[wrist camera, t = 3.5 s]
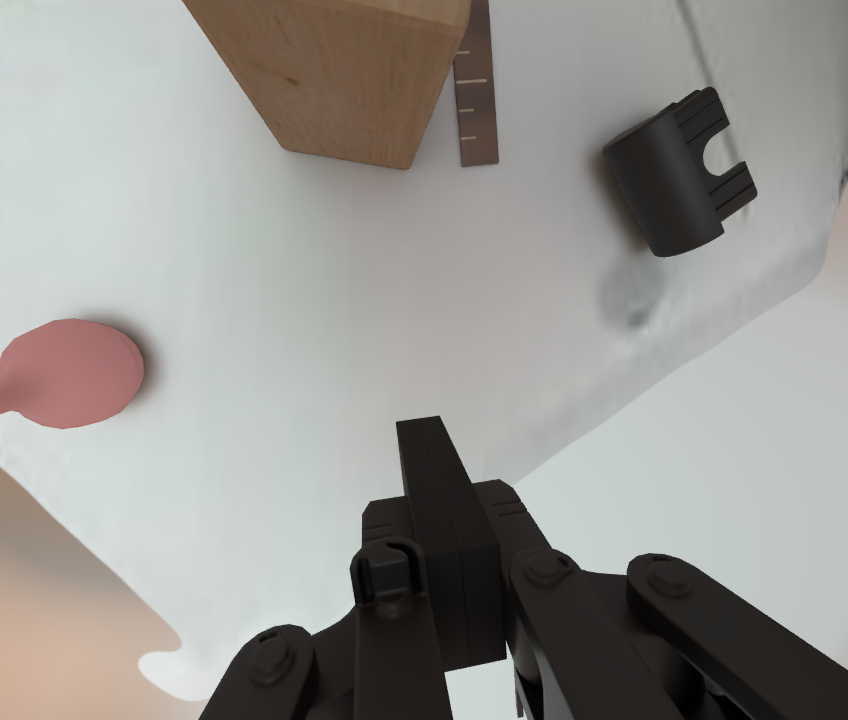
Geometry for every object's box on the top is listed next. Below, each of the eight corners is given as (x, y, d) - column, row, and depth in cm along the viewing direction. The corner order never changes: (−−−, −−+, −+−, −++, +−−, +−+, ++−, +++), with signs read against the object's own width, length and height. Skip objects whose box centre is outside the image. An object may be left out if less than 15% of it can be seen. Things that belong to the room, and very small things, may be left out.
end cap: (582, 159, 35) (633, 133, 28) (651, 110, 35) (718, 72, 28) (634, 260, 37) (691, 257, 31) (698, 214, 37) (770, 202, 31)
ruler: (497, 163, 34) (499, 162, 33) (462, 167, 34) (463, 165, 33) (477, -136, 29) (479, -143, 29) (436, -136, 29) (437, -143, 29)
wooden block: (280, 150, 32) (143, -45, 12) (289, 1, 30) (142, -510, 10) (409, 172, 33) (469, 31, 14) (425, 32, 31) (522, -360, 12)
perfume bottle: (123, 297, 32) (-14, 311, 21) (180, 380, 34) (83, 437, 22) (32, 341, 32) (-159, 381, 20) (94, 423, 34) (-49, 502, 22)
